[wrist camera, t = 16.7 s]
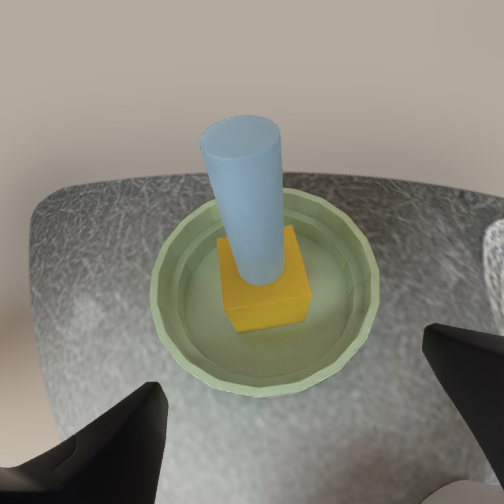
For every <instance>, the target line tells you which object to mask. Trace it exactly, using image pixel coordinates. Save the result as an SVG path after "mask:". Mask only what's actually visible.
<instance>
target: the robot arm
mask: <svg viewBox="0 0 504 504" xmlns="http://www.w3.org/2000/svg"><path fill="white" fill-rule="evenodd" d="M422 351H423V353H424V355H425V357H426V359H427V360H428V362H429V364H430V366H431V368H432V369H433V371H434V373H435V375H436V377H437V379H438V380H439V382H440V384H441V385H442V387H443V388H444V390H445V391H446V393H447V394H448V396H449V397H450V399H451V400H452V402H453V403H454V405H455V406H456V408H457V409H458V411H459V412H460V414H461V415H462V417H463V419H464V420H465V422H466V423H467V425H468V427H469V428H470V430H471V432H472V433H473V435H474V436H475V438H476V440H477V442H478V443H479V445H480V447H481V448H482V450H483V452H484V454H485V455H486V457H487V459H488V461H489V463H490V464H491V467H492V469H493V470H494V472H495V474H496V476H497V478H498V480H499V482H500V484H501V486H502V488H503V490H504V336H499V335H493V334H488V333H483V332H477V331H472V330H467V329H462V328H457V327H452V326H447V325H442V324H438V323H433V324H431V325H428V326H426V327H425V329H424V335H423V342H422ZM167 416H168V400H167V398H166V396H165V394H164V391H163V389H162V387H161V385H160V384H159V383H158V382H146V383H145V384H143V385H142V386H141V387H139V388H138V389H137V390H135V391H134V392H133V393H131V394H130V395H129V396H127V397H126V398H124V399H123V400H122V401H120V402H119V403H118V404H116V405H115V406H114V407H112V408H111V409H109V410H108V411H107V412H105V413H104V414H102V415H101V416H100V417H98V418H97V419H95V420H94V421H93V422H91V423H90V424H88V425H87V426H85V427H84V428H83V429H81V430H80V431H78V432H77V433H76V434H75V435H72V436H71V437H69V438H68V439H67V440H65V441H63V442H62V443H60V444H59V445H57V446H56V447H54V448H52V449H50V450H49V451H47V452H45V453H43V454H41V455H39V456H37V457H36V458H33V459H31V460H29V461H28V462H25V463H23V464H21V465H19V466H16V467H12V468H1V467H0V504H154V503H155V497H156V491H157V486H158V480H159V474H160V469H161V463H162V458H163V453H164V448H165V441H166V429H167Z"/></svg>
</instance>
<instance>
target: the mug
mask: <svg viewBox="0 0 504 504" xmlns="http://www.w3.org/2000/svg"><path fill="white" fill-rule="evenodd" d="M420 504H504V490H503V488H502V486H495V485H489V484H485V483H480V482H476V481H471V480H460V481H455V482H452V483H450V484H448V485H445V486H444V487H442V488H440V489H438V490H437V491H435V492H434V493H432V494H431V495H430V496H428V497H427V498H426V499H425V500H424V501H423V502H421V503H420Z"/></svg>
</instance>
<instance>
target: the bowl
mask: <svg viewBox="0 0 504 504" xmlns="http://www.w3.org/2000/svg"><path fill="white" fill-rule="evenodd" d="M283 214H284V226H288V225H293V229H294V232H295V236H296V239H297V242H298V246H299V249H300V253H301V256H302V260H303V264H304V267H305V271H306V274H307V278H308V282H309V286H310V289H311V293H312V295H311V300H310V304H309V308H308V312H307V316H306V321H303V322H299V323H294V324H289V325H284V326H278V327H273V328H268V329H262V330H256V331H251V332H244V333H237V332H236V330H235V328H234V327H233V325H232V323H231V322H230V320H229V318H228V317H227V315H226V313H225V311H224V308H223V299H222V289H221V280H220V270H219V260H218V249H217V238H223V237H227V234H226V231H225V228H224V225H223V222H222V218H221V215H220V212H219V209H218V205H217V202H216V199H213V200H211V201H209V202H207V203H205V204H204V205H202V206H201V207H199V208H198V209H197V210H195V211H194V212H193V213H191V214H190V215H189V216H187V217H186V218H185V219H183V220H182V221H181V222H180V223H179V225H178V226H177V227H176V228H175V230H174V231H173V232H172V233H171V235H170V236H169V237H168V238H167V240H166V241H165V242H164V244H163V245H162V248H161V250H160V252H159V255H158V257H157V260H156V262H155V265H154V267H153V270H152V273H151V286H150V302H149V304H150V309H151V313H152V316H153V320H154V323H155V327H156V330H157V333H158V337H159V338H160V340H161V341H162V343H163V344H164V345H165V347H166V348H167V350H168V351H169V352H170V354H171V355H172V356H173V358H174V359H175V360H176V361H177V363H178V364H179V365H180V366H181V368H183V369H184V370H186V371H187V372H189V373H190V374H192V375H194V376H195V377H197V378H198V379H200V380H201V381H203V382H205V383H206V384H208V385H209V386H211V387H213V388H215V389H218V390H222V391H226V392H230V393H234V394H239V395H244V396H249V397H254V398H260V399H266V398H273V397H281V396H287V395H293V394H297V393H300V392H302V391H304V390H306V389H308V388H310V387H312V386H314V385H316V384H318V383H319V382H321V381H323V380H325V379H327V378H329V377H330V376H332V375H333V374H335V373H337V372H338V371H339V370H341V369H342V368H343V366H344V365H345V364H346V363H347V362H348V361H349V360H350V359H351V357H352V356H353V355H354V354H355V353H356V352H357V350H358V349H359V348H360V347H361V346H362V345H363V343H364V342H365V341H366V339H367V337H368V335H369V332H370V329H371V327H372V324H373V321H374V319H375V316H376V313H377V310H378V307H379V268H378V265H377V263H376V260H375V257H374V254H373V252H372V249H371V247H370V244H369V241H368V240H367V238H366V237H365V236H364V235H363V233H362V232H361V231H360V229H359V228H358V227H357V226H356V225H355V223H354V222H353V221H352V220H351V218H350V217H349V216H348V215H346V214H345V213H344V212H342V211H341V210H339V209H338V208H336V207H335V206H333V205H332V204H330V203H329V202H327V201H326V200H324V199H323V198H320V197H317V196H314V195H312V194H309V193H306V192H303V191H300V190H297V189H291V188H283Z"/></svg>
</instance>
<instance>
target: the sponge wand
mask: <svg viewBox="0 0 504 504" xmlns="http://www.w3.org/2000/svg"><path fill="white" fill-rule="evenodd" d="M200 148H201V152H202V155H203V158H204V162H205V165H206V169H207V172H208V175H209V179H210V182H211V185H212V189H213V192H214V195H215V199H216V202H217V205H218V209H219V212H220V215H221V218H222V222H223V225H224V228H225V231H226V234H227V237H223V238H217V249H218V260H219V270H220V280H221V289H222V299H223V308H224V311H225V313H226V315H227V317H228V318H229V320H230V322H231V323H232V325H233V327H234V328H235V330H236V332H237V333H244V332H251V331H256V330H262V329H268V328H273V327H278V326H284V325H289V324H294V323H299V322H303V321H306V316H307V312H308V308H309V304H310V300H311V295H312V293H311V289H310V286H309V282H308V278H307V274H306V271H305V267H304V264H303V260H302V256H301V253H300V249H299V246H298V242H297V239H296V236H295V232H294V229H293V225H288V226H284V214H283V181H282V159H281V158H282V157H281V137H280V129H279V128H278V126H277V125H276V124H275V123H274V122H273V121H271V120H269V119H266V118H264V117H260V116H253V115H242V116H235V117H230V118H227V119H224V120H221V121H219V122H217V123H215V124H213V125H211V126H210V127H209V128H208V129H206V130H205V132H204V133H203V134H202V136H201V138H200Z"/></svg>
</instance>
